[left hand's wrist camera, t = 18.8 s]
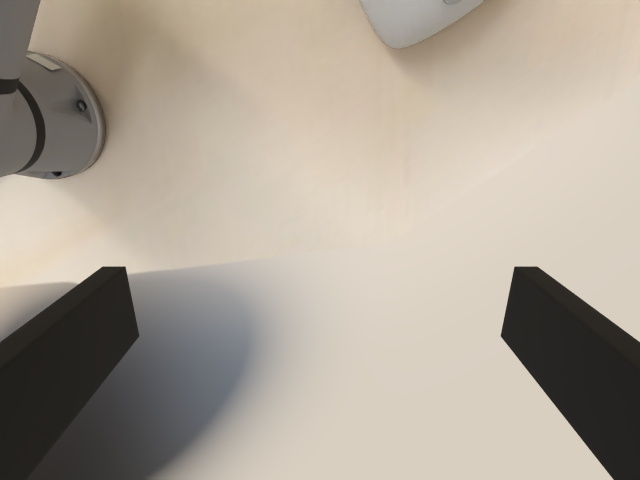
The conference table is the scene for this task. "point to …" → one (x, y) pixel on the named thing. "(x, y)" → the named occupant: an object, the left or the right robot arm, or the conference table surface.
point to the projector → (413, 18)
